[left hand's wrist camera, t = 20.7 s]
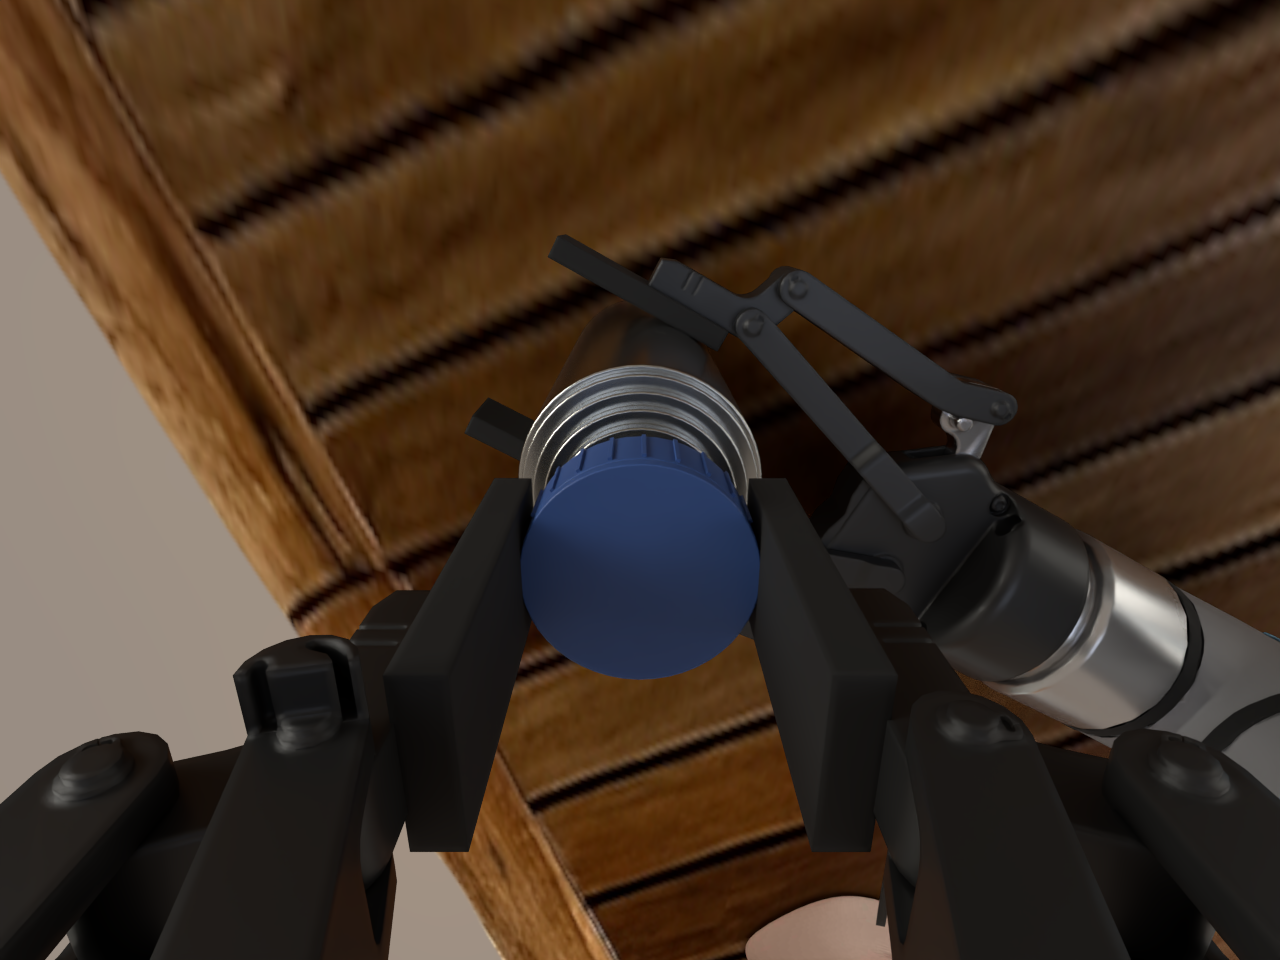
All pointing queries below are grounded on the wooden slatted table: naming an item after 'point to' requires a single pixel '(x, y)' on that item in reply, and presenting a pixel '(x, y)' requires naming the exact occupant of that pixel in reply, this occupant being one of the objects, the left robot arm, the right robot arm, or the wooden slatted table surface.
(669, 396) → the bottle
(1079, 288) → the wooden slatted table surface
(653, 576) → the cap
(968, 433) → the right robot arm
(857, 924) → the anatomical model
